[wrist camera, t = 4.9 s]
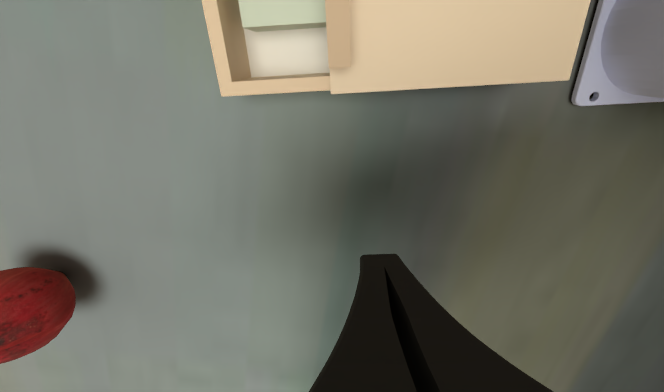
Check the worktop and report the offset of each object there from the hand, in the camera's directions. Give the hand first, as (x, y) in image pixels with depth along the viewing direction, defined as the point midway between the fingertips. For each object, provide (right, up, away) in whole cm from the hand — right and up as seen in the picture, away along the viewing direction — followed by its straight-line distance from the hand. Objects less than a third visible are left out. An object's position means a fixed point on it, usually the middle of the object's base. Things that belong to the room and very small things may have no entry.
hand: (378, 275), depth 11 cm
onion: (-23, -3, +12) cm, 26 cm away
